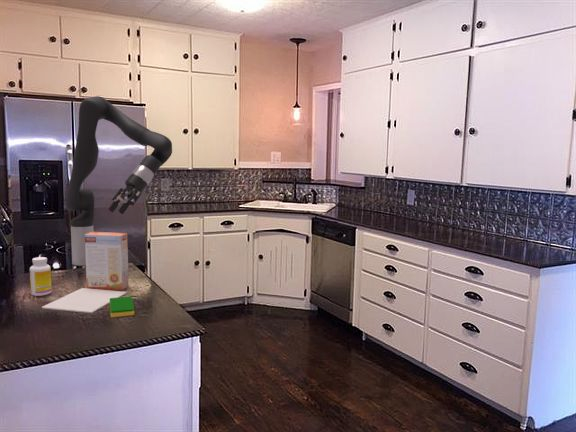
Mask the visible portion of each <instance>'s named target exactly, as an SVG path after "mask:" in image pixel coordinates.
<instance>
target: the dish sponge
mask: <svg viewBox="0 0 576 432" xmlns="http://www.w3.org/2000/svg"><path fill="white" fill-rule="evenodd" d="M109 310H110V311H109V312H110V318H116V317H117V318H119V317H129V316H135V305H134V301H133V297H132V296H121V297H118V298H110V303H109Z"/></svg>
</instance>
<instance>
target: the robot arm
mask: <svg viewBox="0 0 576 432" xmlns="http://www.w3.org/2000/svg"><path fill="white" fill-rule="evenodd" d="M78 108H79V109H78V110H79V111H78V128H77V135H76V142H75V148H74V153H73V160H72V161H73V162H72V168H71V172H70V173H71V175H70V178H69V183H68V186H67V191H66V193H65V206H66V207H65V208H66V209H67V210H68V211H70V212H72V211H73V212H75V211H76V212H77V211H78V212H79V211H81V213H80V214H79V215H77V216H75V217H73V218H72V219H71V220H70V235H71V237H70V238H71V244H70V245H71V264H72V265H73V266H80V267H81V266H83V267H84V266H86V254H85V234H87V233H90V232H95V231H94V220H95V195H94V192H93V191H92V190H91V189H90V188H89V189H87V188H84V189H81V188H82V185H83V184H84V182H85V180H86V179H87V178H88V177H89V176H90V175H91V173H92V172H93V171H94V170H95V168H96V167H97V165H98V164H97V163H98V160H99V151H100V150H99V144H98V142H97V137H96V136H97V135H96V132H97V128H98V127H97V126H98V123H99V121H100V120H105V121H106V122H107V121H108V122H110V123H112V124H114V125H115V126H117V128H118V129H120V130H121V132H122V133H123V134H124V136H126V137H128V139H131V140H132V141H134V142H135V143H137V144H139V145H140V146H142V147H143V146H144V147H148V146H149V147H151V148H153V150H152V152H151V153H150V154H148V155H146V156H144V158H143V159H142V160H141V162H140V163H139V164H138V165H137V166H136V167H135V168H134V170H133V171H132V172H131V174H130V175H129V176H128V178H127V179H126V180H125V182H124V183H125V186H126V187H125V188H122V187H120V189H118V191H117V192H116V193H115V195H114V196H113V197H112V198H111V201H112V203H111V204H110V206H109V207H108V208H107V210H108V211H109V212H110V213H114V212H115V211H116V210H117V208H118V207H119V205H120V204H121V205H120V207H119V208H118V210H117V212H118V213H119V214H121V215H124V213H125V212H126V211H127V209H128V208H129V207H131V206H132V207H133V206H134V205H135V204H136V203H137V201H138V199H139V198H140V197H141V195H142V193H143V192H144V191H145V189H146V188H147V186H149V184H150V182H151V181H152V180H153V178H154V176H155V175H156V173H157V172H158V170H160V167H162V166H163V165H165V163H166V162H167V161H168V160H169V159H170V158H171V156H172V154H173V143H172V141H171V139H170V138H169V137H167V136H166V135H164V134H161V133H160V132H156V131H153V130H151V129H149V128H147V127H145V126H144V125H142V124H141V123H138V122H137V121H135V120H134V119H132V118H130V117H129V116H127V114H125V113H123V112H122V111H121V110H119V109H118V108H117V107H116V106H115V105H113V104H112V103H111V102H110V101H109V100H107V99H106V98H104V97H102V96H101V95H100V96H99V95H98V96H97V95H96V96H91V97H86V98H84V99H83V100H82V101H81V103H80V104H79V107H78Z"/></svg>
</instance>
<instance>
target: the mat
mask: <svg viewBox="0 0 576 432" xmlns="http://www.w3.org/2000/svg"><path fill="white" fill-rule="evenodd" d="M127 293H128V292H127V291H123V290H105V289H88V288H87V287H85V288H84V287H81V288H80V289H79V288H78V289H77V290H75V291H73V292H71V293H69V294H65V295H64V296H61V297H60V298H57V299H56V300H53V301H51V302H49V303H47V304H45V305H43V306H41V309H45V310H46V309H47V310H56V311H67V312H76V313H86V314H87V313H88V314H93V313H95V312H96V311H98V310H100V309H102V308H103V307H106V306H107V305H108V304H109V305H110V298H118V297H124V295H126V294H127Z"/></svg>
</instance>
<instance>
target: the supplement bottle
mask: <svg viewBox="0 0 576 432" xmlns="http://www.w3.org/2000/svg"><path fill="white" fill-rule="evenodd" d="M31 262H32V265H31V266H30V267H29V280H30V281H29V282H30V283H29V284H30V294H31V296H36V297H42V296H46V295H50V294H51V293H52V292H53V291H52V290H53V287H52V270H51V266H50V265H49V264H48V258H47V257H44V256H39V257H38V256H37V257H33V258H32V260H31Z"/></svg>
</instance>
